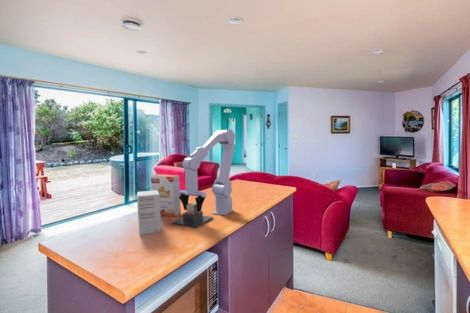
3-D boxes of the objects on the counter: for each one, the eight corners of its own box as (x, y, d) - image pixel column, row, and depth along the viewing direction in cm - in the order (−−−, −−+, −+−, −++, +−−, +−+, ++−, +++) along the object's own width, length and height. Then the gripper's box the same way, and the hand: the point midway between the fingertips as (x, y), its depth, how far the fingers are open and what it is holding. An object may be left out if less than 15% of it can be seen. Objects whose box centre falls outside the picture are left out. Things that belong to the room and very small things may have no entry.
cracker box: (152, 214, 140) (150, 175, 138) (159, 211, 146) (157, 174, 144) (174, 217, 135) (173, 176, 133) (181, 213, 141) (179, 174, 139)
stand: (190, 215, 137) (189, 205, 137) (213, 219, 131) (212, 208, 130) (172, 224, 125) (171, 213, 124) (196, 228, 118) (196, 216, 118)
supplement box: (138, 228, 120) (136, 191, 119) (159, 225, 124) (158, 189, 122) (139, 235, 112) (136, 196, 110) (161, 232, 115) (159, 193, 113)
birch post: (192, 217, 130) (191, 202, 130) (198, 218, 128) (198, 203, 128) (186, 219, 127) (186, 204, 126) (193, 220, 125) (193, 205, 124)
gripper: (174, 183, 126) (175, 211, 127) (199, 185, 119) (200, 214, 120) (183, 180, 132) (184, 207, 133) (207, 182, 125) (208, 210, 127)
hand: (192, 210), depth 127 cm, fingers open, 7 cm apart
